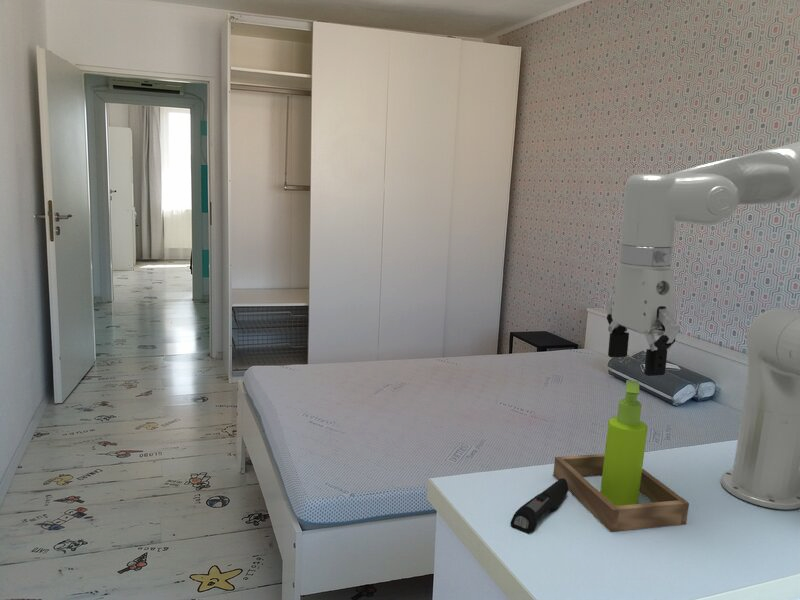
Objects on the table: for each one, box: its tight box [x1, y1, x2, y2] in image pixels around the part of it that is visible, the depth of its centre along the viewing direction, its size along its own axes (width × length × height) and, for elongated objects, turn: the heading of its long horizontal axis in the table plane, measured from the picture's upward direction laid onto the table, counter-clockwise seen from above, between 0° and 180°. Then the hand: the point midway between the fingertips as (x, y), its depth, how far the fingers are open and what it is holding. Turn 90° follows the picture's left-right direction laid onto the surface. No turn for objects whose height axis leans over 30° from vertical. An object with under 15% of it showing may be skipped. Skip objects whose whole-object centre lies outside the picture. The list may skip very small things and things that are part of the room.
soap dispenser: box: [599, 379, 648, 506], centre depth 101 cm, size 6×7×20 cm
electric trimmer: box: [510, 478, 569, 534], centre depth 99 cm, size 4×16×3 cm, turn 142°
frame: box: [552, 453, 690, 533], centre depth 104 cm, size 13×18×4 cm
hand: (635, 365), depth 100 cm, fingers open, 9 cm apart
